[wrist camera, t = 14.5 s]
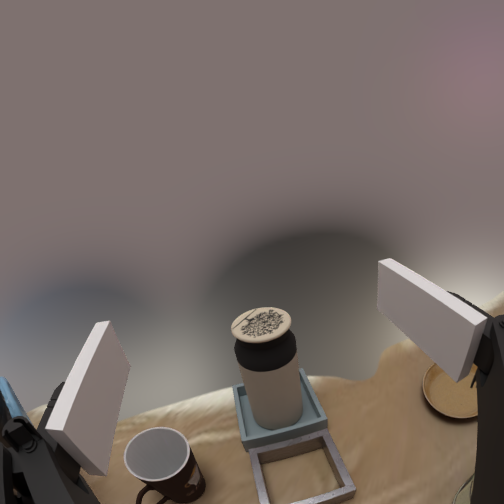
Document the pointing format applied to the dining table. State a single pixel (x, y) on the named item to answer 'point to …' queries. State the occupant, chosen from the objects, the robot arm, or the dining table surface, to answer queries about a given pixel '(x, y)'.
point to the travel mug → (269, 366)
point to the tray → (260, 436)
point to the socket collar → (296, 447)
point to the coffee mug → (164, 465)
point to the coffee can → (464, 492)
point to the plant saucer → (451, 393)
